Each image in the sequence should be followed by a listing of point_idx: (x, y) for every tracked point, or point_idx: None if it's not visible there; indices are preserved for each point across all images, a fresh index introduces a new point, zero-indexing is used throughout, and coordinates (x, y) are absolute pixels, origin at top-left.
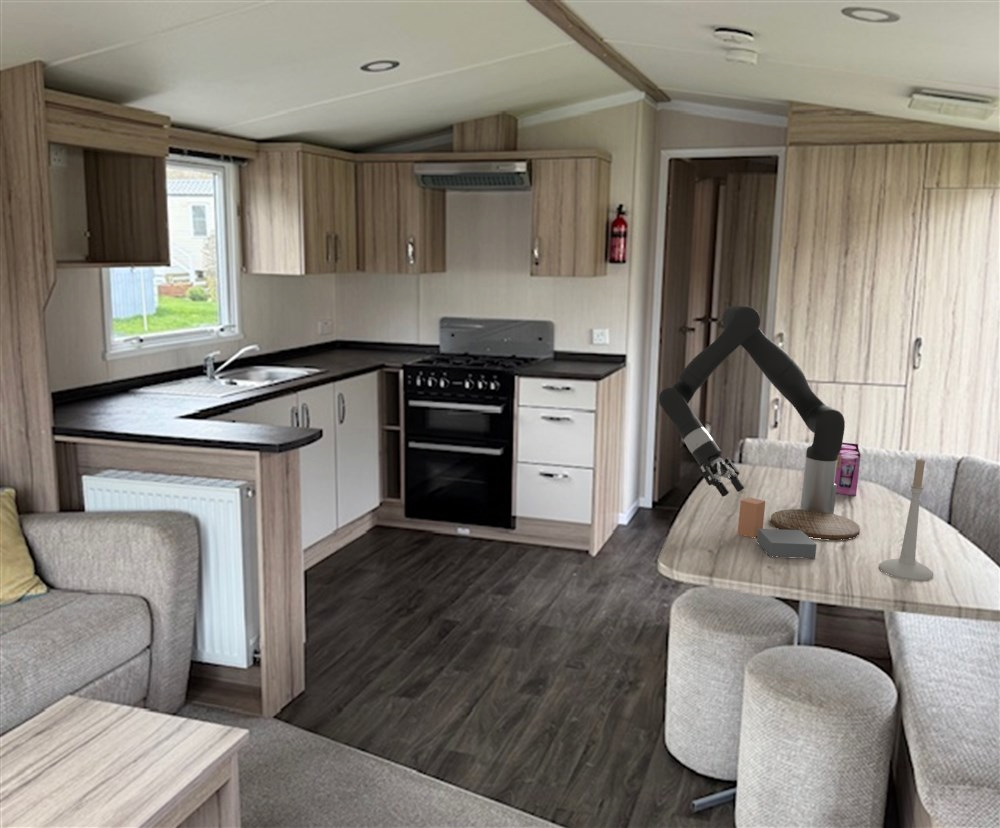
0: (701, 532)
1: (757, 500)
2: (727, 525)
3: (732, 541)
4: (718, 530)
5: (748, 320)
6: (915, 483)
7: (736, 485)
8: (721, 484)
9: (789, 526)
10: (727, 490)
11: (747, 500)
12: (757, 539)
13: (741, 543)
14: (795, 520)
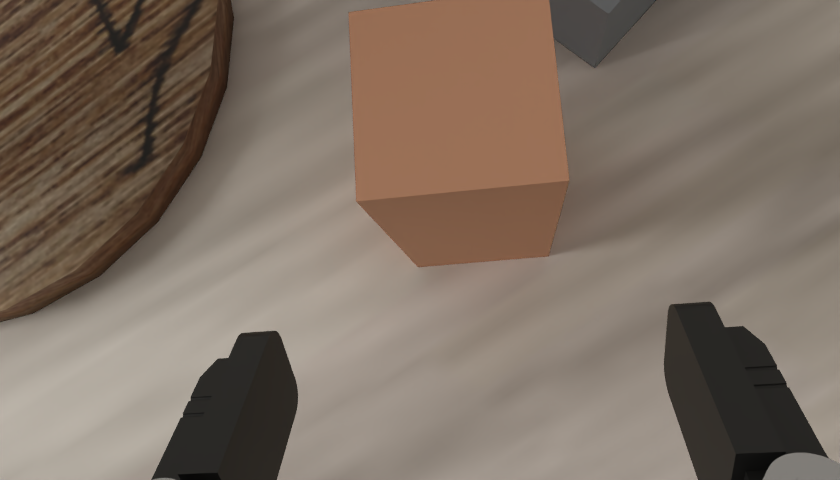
0: None
1: (404, 69)
2: (425, 428)
3: (737, 175)
4: (602, 397)
5: None
6: None
7: (269, 434)
8: (765, 429)
9: (177, 73)
10: (691, 320)
11: (508, 127)
12: (604, 49)
13: (714, 112)
14: (16, 128)
